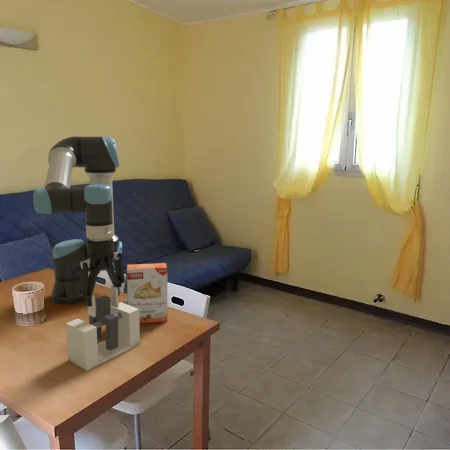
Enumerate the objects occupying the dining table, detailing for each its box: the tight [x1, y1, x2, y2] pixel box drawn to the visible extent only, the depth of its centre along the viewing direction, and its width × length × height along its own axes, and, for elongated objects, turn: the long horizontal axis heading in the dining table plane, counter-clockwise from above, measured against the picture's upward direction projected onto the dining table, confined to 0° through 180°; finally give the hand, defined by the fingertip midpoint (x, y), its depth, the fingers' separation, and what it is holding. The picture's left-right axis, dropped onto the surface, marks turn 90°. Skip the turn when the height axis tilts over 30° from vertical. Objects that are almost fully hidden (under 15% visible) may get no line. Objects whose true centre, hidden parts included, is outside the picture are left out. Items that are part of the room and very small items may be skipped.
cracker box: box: [126, 262, 168, 325], centre depth 148 cm, size 14×6×21 cm, turn 103°
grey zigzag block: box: [88, 294, 118, 351], centre depth 126 cm, size 10×3×15 cm, turn 53°
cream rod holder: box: [65, 301, 141, 372], centre depth 127 cm, size 9×20×12 cm, turn 143°
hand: (103, 310), depth 125 cm, fingers open, 8 cm apart
